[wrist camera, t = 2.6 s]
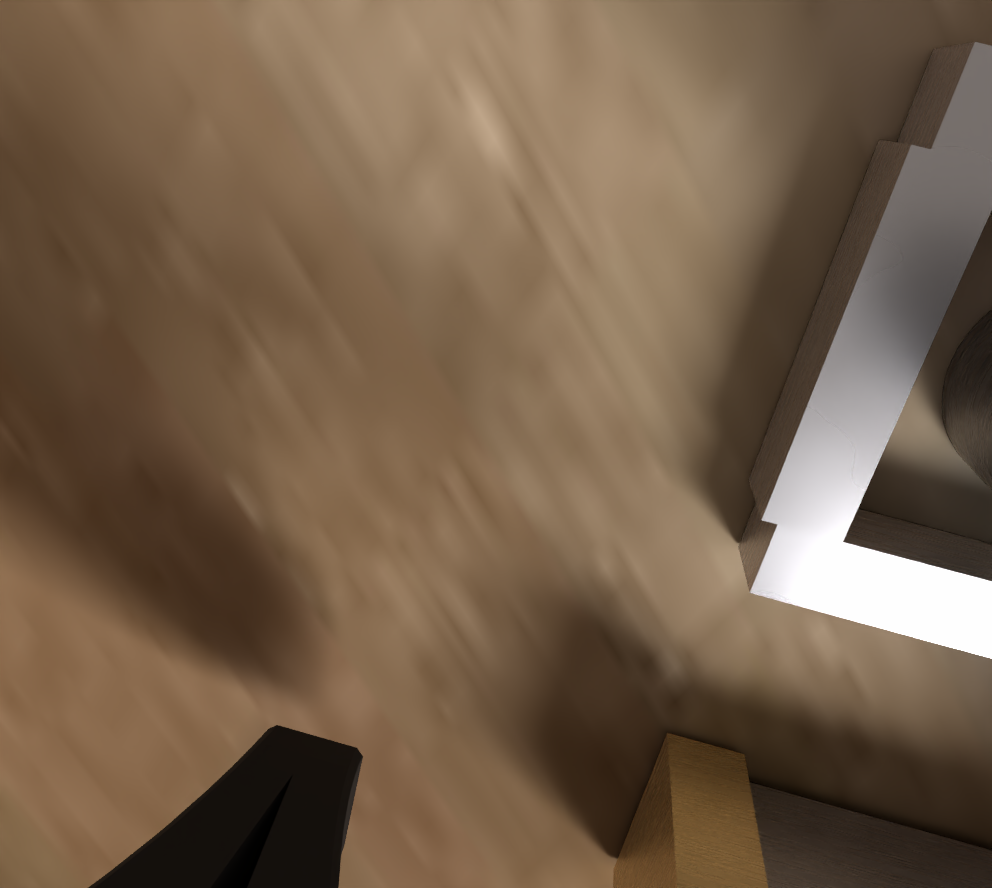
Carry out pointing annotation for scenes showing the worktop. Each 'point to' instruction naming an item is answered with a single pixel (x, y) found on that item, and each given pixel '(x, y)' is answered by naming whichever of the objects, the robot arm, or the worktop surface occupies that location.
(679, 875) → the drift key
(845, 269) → the collar
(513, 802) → the worktop surface
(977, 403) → the metal cylinder
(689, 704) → the worktop surface
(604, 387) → the worktop surface
